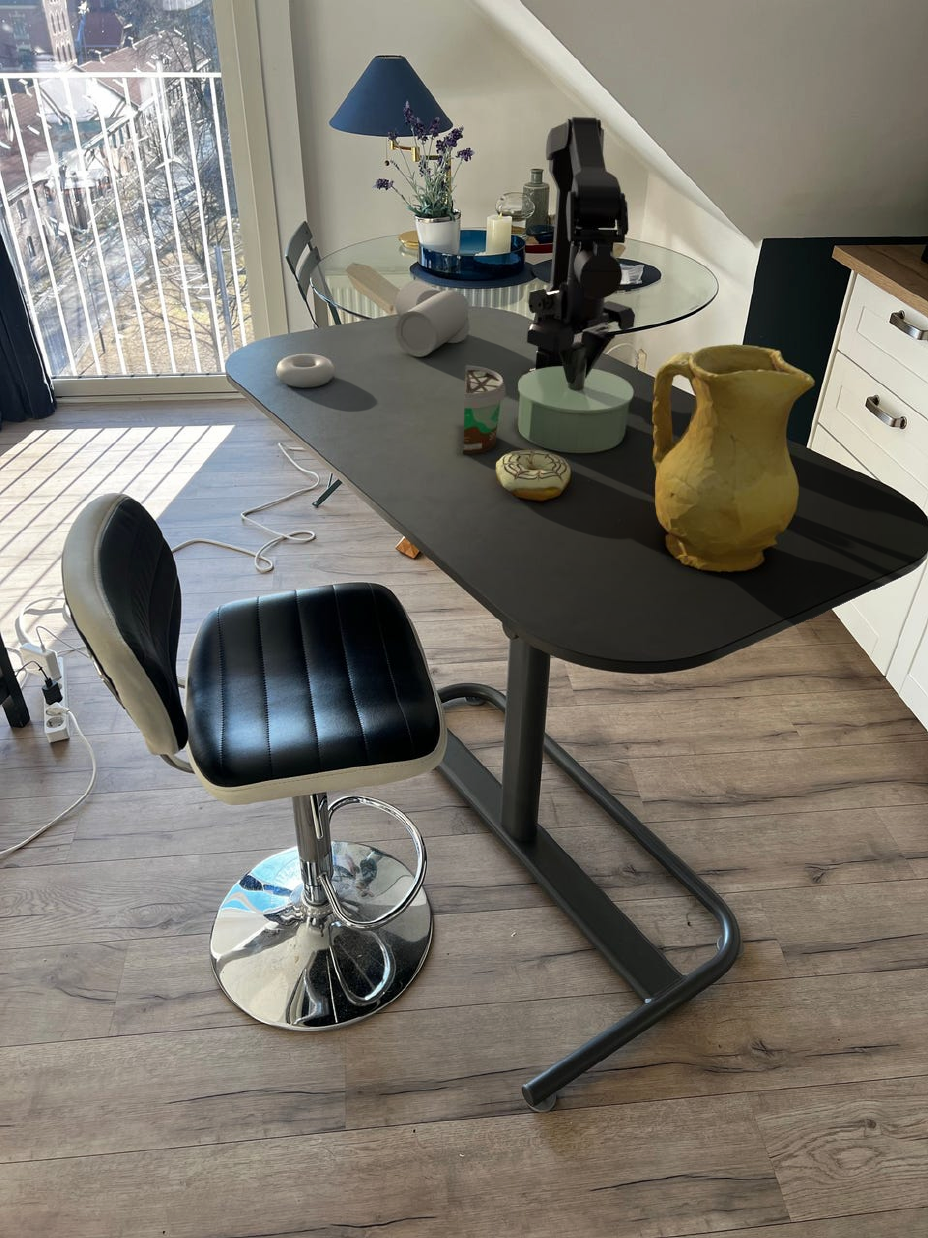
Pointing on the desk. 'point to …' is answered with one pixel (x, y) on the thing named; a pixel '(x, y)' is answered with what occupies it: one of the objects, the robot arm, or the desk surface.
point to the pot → (571, 428)
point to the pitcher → (726, 455)
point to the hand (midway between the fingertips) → (576, 380)
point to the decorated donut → (533, 474)
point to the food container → (481, 408)
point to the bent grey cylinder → (429, 318)
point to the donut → (305, 370)
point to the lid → (575, 390)
